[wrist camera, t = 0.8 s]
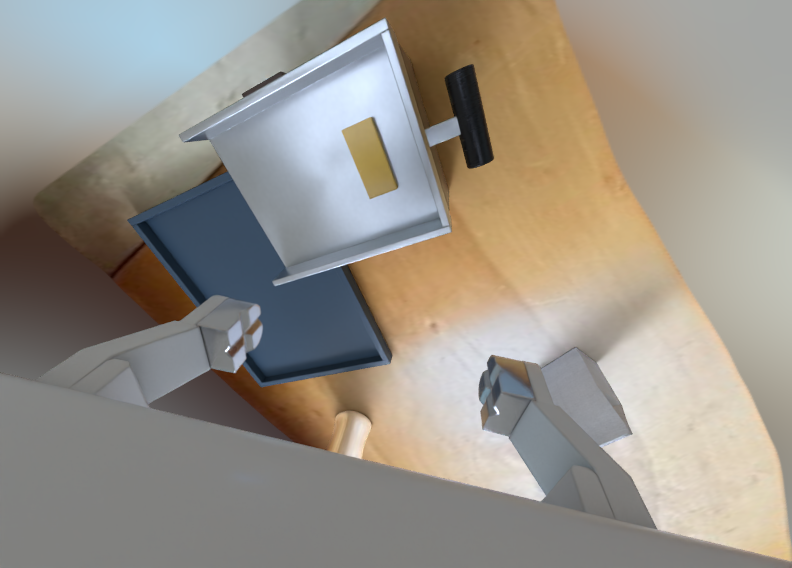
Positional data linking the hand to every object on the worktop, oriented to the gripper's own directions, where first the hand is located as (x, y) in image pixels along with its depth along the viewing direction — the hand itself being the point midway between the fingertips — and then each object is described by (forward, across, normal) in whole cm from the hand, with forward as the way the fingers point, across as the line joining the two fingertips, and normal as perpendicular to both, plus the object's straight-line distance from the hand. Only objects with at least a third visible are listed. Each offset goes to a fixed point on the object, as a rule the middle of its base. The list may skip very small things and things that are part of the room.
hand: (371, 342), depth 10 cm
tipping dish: (+15, +5, -3) cm, 16 cm away
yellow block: (+14, +4, -4) cm, 15 cm away
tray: (+22, +16, +15) cm, 31 cm away
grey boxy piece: (+22, -22, +18) cm, 35 cm away
